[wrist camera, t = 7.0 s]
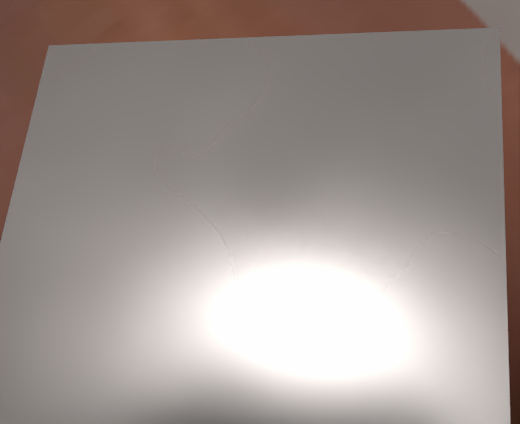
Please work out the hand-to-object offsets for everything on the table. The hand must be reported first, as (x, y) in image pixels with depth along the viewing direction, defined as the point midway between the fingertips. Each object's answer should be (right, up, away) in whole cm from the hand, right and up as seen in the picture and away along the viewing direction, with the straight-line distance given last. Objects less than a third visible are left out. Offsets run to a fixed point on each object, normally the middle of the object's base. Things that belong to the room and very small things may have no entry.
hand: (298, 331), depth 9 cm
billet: (+2, -2, +8) cm, 8 cm away
